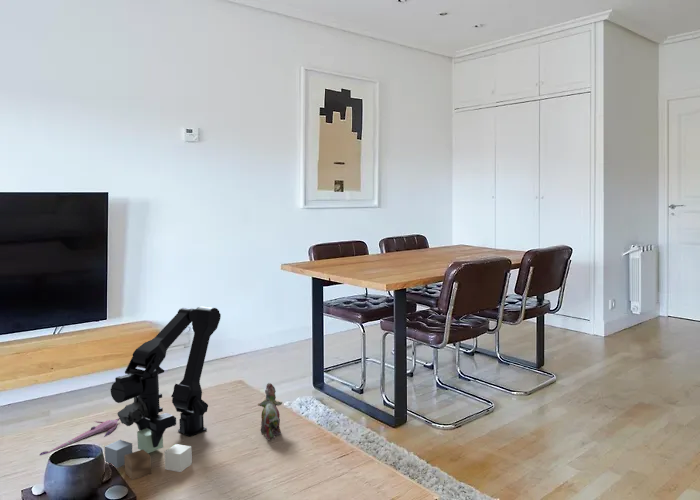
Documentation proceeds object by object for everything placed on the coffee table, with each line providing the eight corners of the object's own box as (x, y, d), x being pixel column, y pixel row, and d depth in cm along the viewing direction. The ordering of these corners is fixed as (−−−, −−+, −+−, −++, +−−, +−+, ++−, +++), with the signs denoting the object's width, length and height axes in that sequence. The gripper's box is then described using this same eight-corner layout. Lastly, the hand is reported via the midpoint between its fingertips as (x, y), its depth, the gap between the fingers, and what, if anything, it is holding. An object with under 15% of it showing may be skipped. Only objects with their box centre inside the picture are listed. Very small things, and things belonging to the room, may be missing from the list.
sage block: (153, 442, 164) (153, 426, 163) (163, 447, 160) (162, 430, 160) (137, 448, 160) (137, 431, 159) (147, 453, 157) (146, 436, 156)
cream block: (176, 461, 154) (176, 443, 154) (191, 464, 153) (191, 446, 152) (164, 469, 150) (164, 451, 149) (180, 472, 148) (179, 454, 148)
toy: (112, 409, 184) (133, 419, 180) (112, 416, 185) (133, 426, 180) (29, 446, 160) (52, 459, 155) (30, 454, 160) (52, 466, 156)
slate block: (120, 456, 157) (120, 439, 157) (132, 460, 155) (132, 443, 154) (105, 463, 153) (104, 446, 153) (117, 468, 151) (116, 450, 150)
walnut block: (143, 467, 151) (142, 449, 151) (151, 473, 147) (150, 455, 147) (125, 473, 148) (124, 455, 147) (132, 480, 144) (131, 461, 144)
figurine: (285, 426, 178) (284, 380, 176) (277, 442, 166) (276, 393, 165) (261, 425, 179) (261, 379, 177) (251, 441, 167) (250, 392, 165)
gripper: (104, 392, 158) (107, 444, 160) (139, 407, 146) (141, 464, 148) (141, 382, 167) (143, 432, 168) (176, 395, 155) (178, 449, 156)
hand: (150, 444), depth 160 cm, fingers closed on sage block, 5 cm apart
